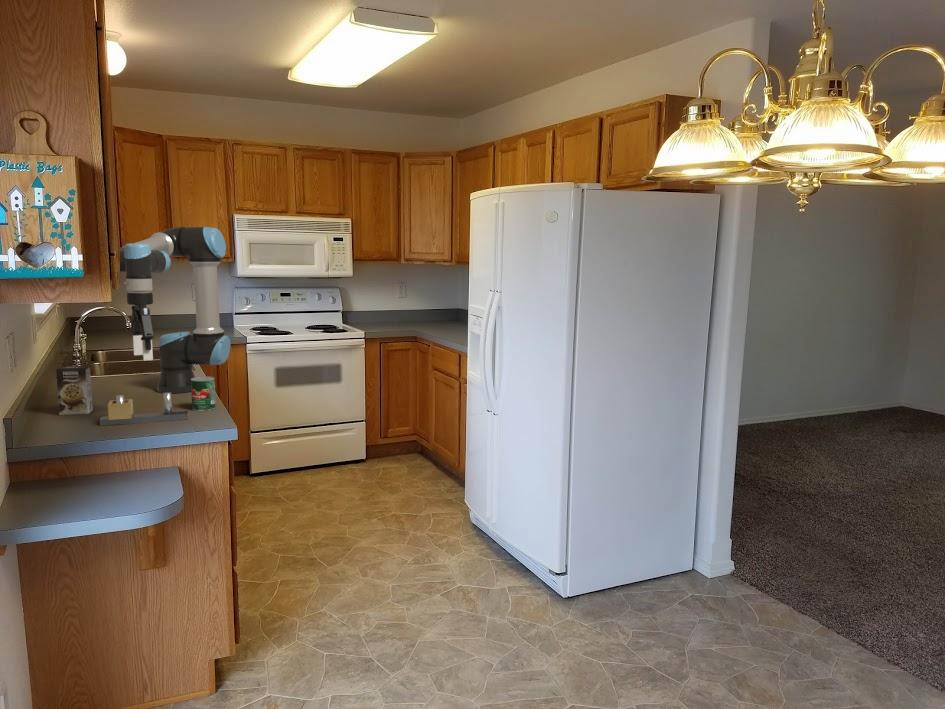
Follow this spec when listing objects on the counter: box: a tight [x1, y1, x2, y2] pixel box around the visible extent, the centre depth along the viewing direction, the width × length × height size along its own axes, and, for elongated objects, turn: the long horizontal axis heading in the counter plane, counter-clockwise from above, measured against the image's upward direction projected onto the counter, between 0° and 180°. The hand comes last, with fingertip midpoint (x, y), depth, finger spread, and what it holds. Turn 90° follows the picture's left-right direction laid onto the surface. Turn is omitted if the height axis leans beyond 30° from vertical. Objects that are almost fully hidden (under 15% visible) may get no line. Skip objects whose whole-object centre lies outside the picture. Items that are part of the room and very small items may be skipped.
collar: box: [107, 398, 134, 420], centre depth 219 cm, size 6×6×5 cm
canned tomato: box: [191, 376, 217, 412], centre depth 240 cm, size 8×8×11 cm
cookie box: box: [55, 365, 94, 416], centre depth 231 cm, size 9×6×16 cm
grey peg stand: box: [99, 392, 189, 427], centre depth 222 cm, size 4×26×9 cm, turn 111°
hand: (143, 357), depth 220 cm, fingers open, 13 cm apart
